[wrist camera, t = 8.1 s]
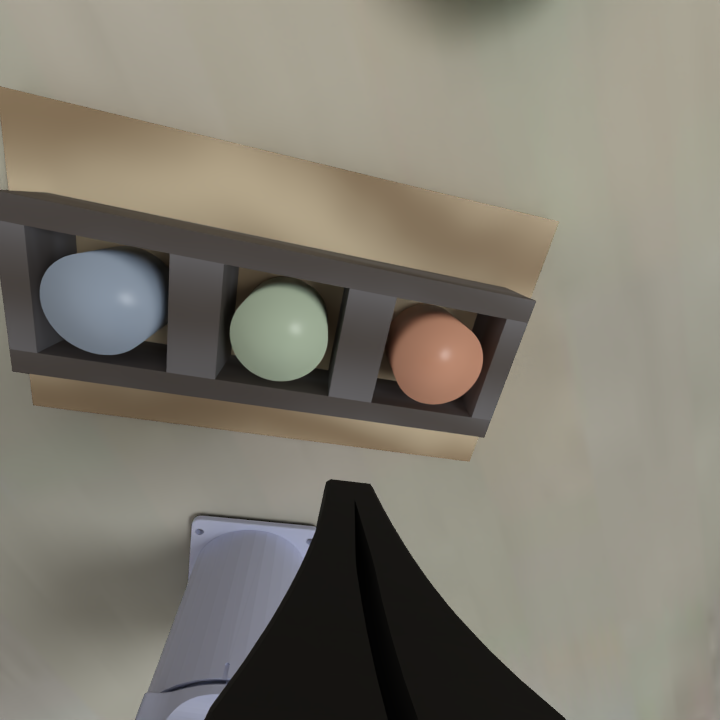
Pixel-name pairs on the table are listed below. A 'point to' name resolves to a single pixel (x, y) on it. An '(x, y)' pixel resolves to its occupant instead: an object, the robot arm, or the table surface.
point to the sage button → (280, 329)
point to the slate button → (106, 298)
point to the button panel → (254, 278)
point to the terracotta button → (432, 354)
